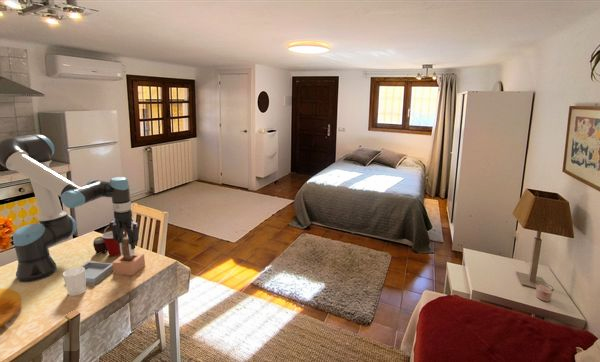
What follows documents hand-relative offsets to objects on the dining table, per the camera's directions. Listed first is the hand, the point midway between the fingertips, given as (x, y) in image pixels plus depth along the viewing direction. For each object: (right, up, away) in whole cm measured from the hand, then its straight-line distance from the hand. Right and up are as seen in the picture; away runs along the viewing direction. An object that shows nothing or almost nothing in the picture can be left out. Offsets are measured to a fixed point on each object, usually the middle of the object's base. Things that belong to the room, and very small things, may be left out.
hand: (127, 254), depth 158 cm
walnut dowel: (0, -7, +2) cm, 8 cm away
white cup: (-13, -13, -17) cm, 25 cm away
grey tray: (-15, -9, -4) cm, 18 cm away
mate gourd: (-23, -3, +18) cm, 30 cm away
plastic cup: (-16, -4, +16) cm, 23 cm away
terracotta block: (0, -8, +2) cm, 8 cm away
